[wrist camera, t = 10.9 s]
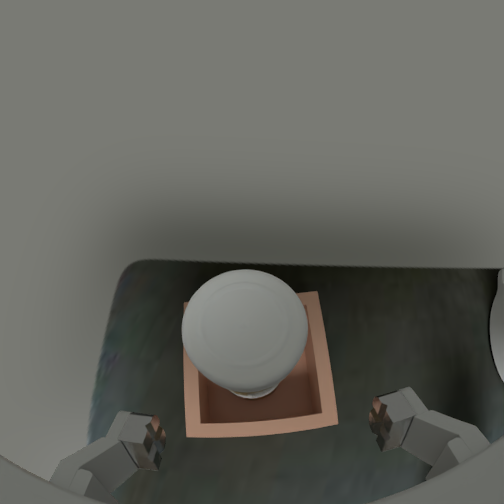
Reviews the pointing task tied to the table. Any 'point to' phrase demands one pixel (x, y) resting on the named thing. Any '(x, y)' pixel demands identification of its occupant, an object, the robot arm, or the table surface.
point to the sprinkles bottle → (245, 332)
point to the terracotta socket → (276, 404)
